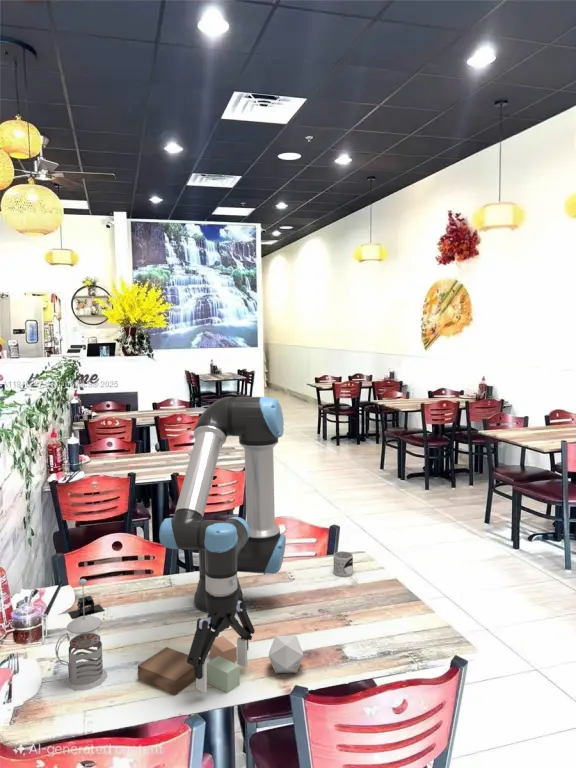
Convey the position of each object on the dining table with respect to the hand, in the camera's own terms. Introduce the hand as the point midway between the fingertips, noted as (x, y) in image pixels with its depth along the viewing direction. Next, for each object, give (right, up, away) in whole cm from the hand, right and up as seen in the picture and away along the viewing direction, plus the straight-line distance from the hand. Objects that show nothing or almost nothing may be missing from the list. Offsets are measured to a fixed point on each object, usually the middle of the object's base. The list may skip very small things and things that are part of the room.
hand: (222, 677), depth 142 cm
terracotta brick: (-1, -1, +12) cm, 12 cm away
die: (+15, -1, +6) cm, 16 cm away
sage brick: (0, -2, 0) cm, 2 cm away
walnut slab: (-13, -2, +3) cm, 14 cm away
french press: (-34, -2, +3) cm, 34 cm away
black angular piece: (-46, 0, +38) cm, 59 cm away
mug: (+36, +4, +67) cm, 76 cm away
